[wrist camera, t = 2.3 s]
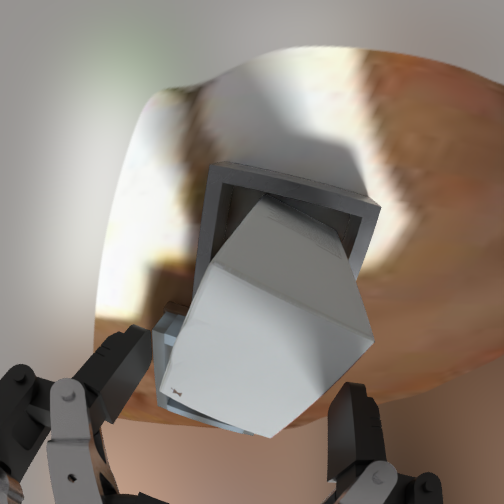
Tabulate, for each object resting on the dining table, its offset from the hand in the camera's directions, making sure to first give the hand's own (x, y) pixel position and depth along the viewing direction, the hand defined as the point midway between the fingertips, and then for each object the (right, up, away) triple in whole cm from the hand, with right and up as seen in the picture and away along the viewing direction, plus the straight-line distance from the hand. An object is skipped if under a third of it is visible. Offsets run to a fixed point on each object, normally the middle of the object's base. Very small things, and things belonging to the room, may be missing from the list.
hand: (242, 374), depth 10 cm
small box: (+2, +5, +12) cm, 13 cm away
